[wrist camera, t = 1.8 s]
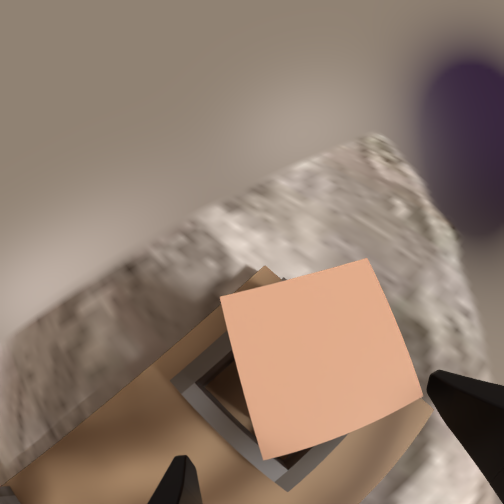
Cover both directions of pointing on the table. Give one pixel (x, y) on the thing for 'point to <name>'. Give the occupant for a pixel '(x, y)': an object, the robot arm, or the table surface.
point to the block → (318, 357)
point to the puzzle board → (206, 439)
